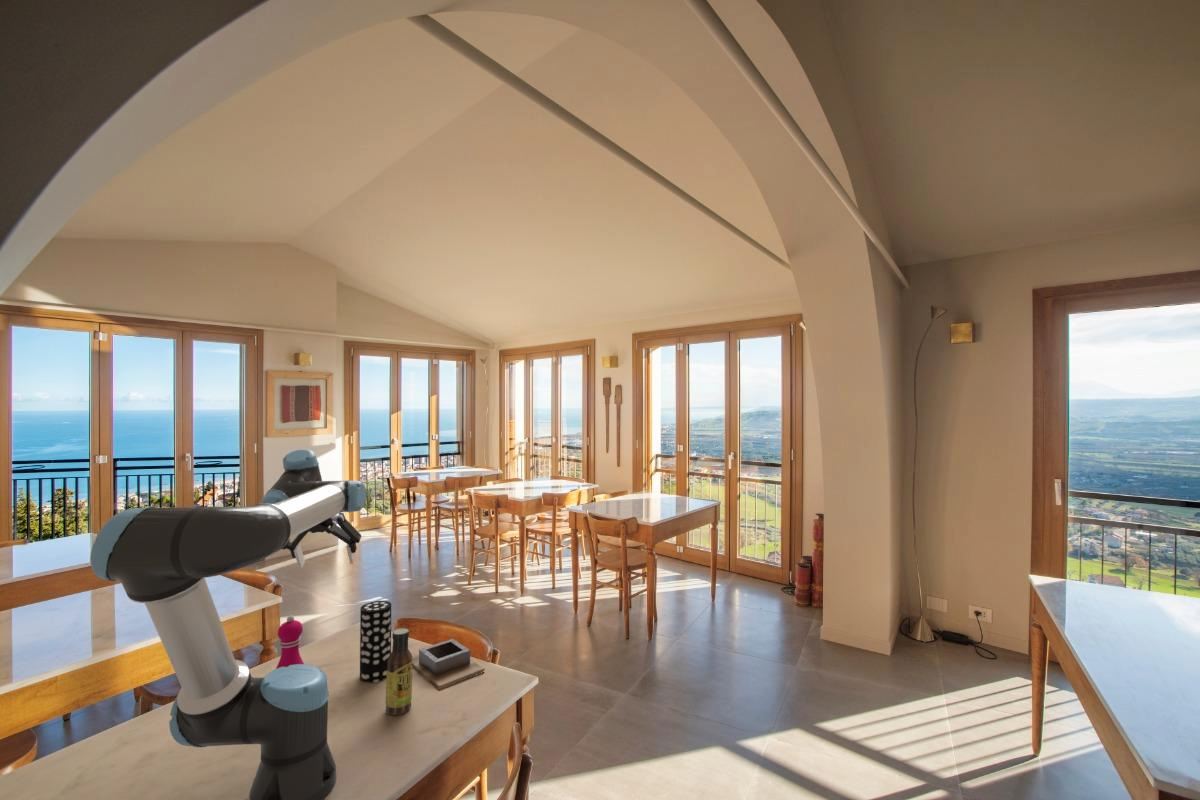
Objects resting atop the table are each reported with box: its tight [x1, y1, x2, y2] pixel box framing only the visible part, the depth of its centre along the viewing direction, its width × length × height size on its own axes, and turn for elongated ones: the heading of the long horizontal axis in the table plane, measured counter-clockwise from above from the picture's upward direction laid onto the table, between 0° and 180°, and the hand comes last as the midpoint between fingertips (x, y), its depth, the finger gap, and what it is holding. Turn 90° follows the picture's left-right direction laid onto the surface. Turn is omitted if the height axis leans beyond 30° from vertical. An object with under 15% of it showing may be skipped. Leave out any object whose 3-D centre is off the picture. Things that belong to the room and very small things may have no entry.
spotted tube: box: [359, 600, 392, 684], centre depth 152 cm, size 8×8×20 cm
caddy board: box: [412, 653, 485, 690], centre depth 156 cm, size 22×14×1 cm, turn 43°
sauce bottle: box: [385, 627, 413, 716], centre depth 134 cm, size 6×6×20 cm
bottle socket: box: [418, 638, 471, 677], centre depth 157 cm, size 11×11×4 cm
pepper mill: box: [275, 615, 305, 669], centre depth 145 cm, size 7×7×20 cm
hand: (327, 562), depth 149 cm, fingers open, 13 cm apart
